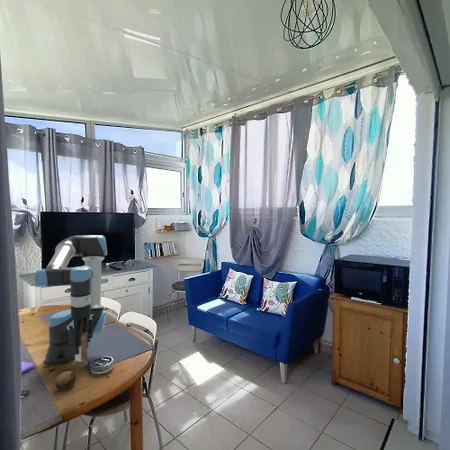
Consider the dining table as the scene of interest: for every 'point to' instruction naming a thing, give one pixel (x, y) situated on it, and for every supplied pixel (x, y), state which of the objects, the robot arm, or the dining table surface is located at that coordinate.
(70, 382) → the brown oval lump
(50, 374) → the dining table surface
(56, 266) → the robot arm
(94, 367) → the tin
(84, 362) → the brown wooden block
